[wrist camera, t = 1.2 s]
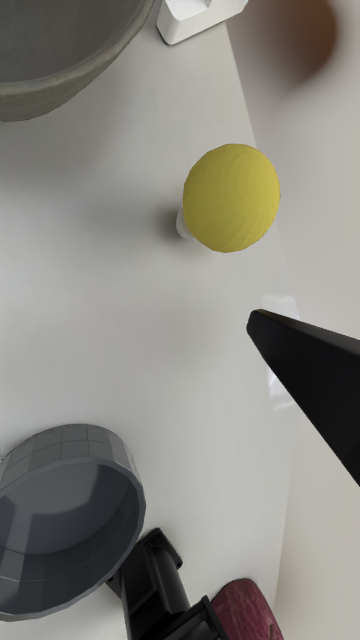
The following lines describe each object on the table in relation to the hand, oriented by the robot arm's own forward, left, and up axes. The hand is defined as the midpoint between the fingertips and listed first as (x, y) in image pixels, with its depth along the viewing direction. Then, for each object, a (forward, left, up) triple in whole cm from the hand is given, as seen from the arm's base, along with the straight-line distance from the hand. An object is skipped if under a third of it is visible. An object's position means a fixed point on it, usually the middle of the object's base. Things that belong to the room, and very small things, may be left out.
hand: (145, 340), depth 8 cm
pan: (-13, +10, -13) cm, 21 cm away
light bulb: (+3, -11, -14) cm, 18 cm away
